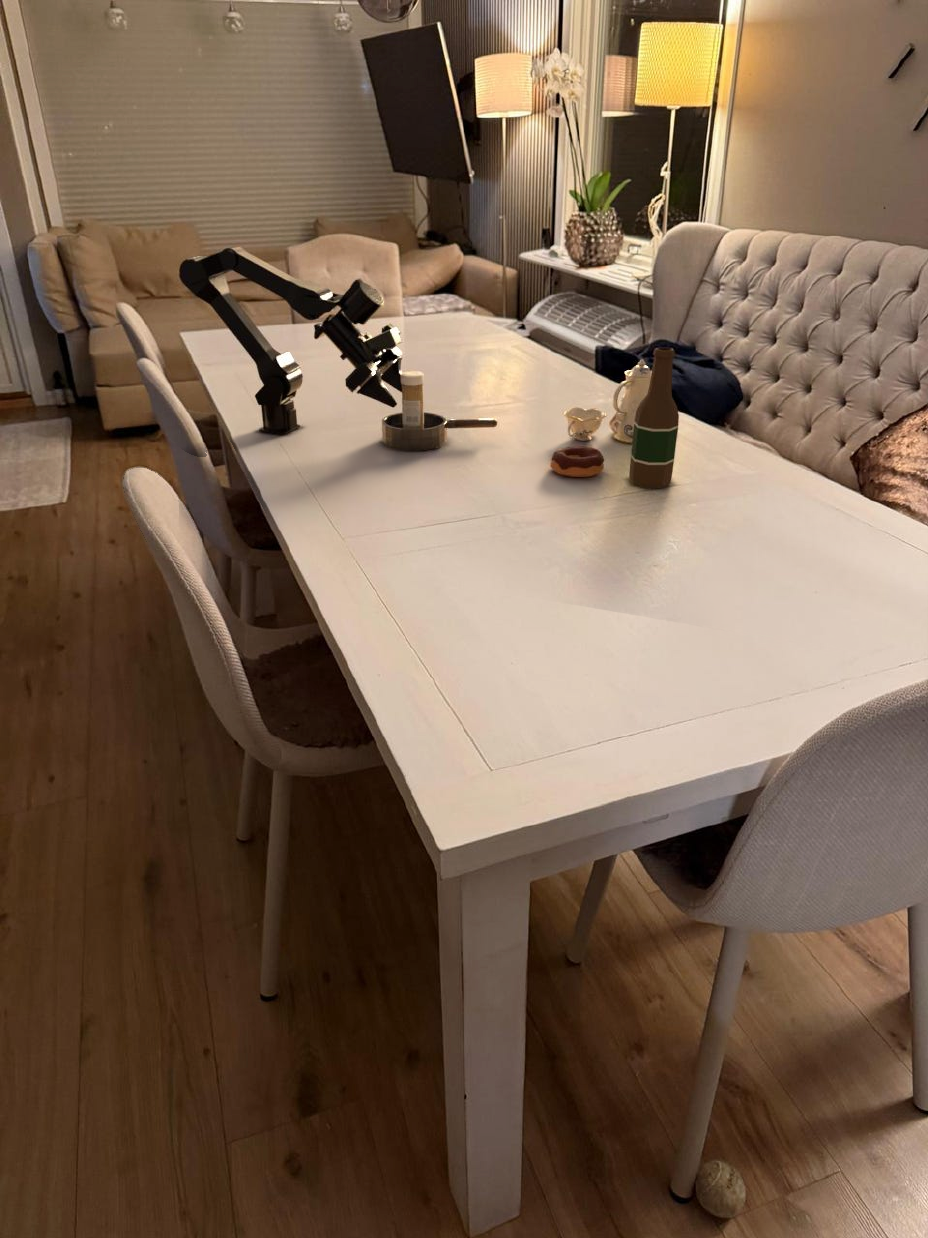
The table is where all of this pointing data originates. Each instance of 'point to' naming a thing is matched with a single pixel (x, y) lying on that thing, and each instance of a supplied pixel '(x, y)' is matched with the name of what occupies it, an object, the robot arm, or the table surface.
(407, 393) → the sprinkles bottle
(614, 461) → the table surface
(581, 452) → the donut
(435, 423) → the pan
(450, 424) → the pan handle
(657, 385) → the beer bottle
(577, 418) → the chinaware
